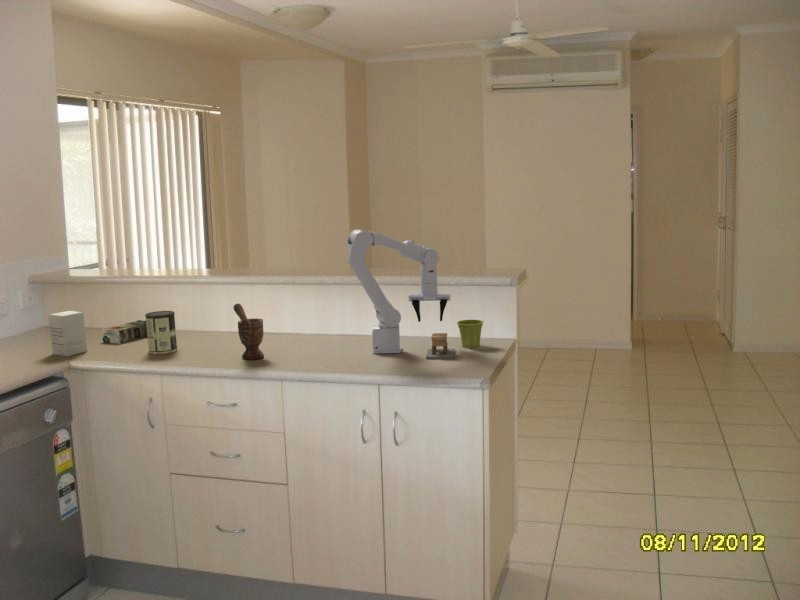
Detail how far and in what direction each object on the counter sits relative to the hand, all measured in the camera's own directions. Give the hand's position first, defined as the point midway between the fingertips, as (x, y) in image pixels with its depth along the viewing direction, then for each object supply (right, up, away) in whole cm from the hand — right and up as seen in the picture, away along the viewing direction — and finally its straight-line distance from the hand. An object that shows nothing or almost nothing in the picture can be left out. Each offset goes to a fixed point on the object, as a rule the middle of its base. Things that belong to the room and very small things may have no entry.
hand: (430, 321), depth 312 cm
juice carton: (-118, -8, +39) cm, 124 cm away
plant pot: (+14, -9, +1) cm, 17 cm away
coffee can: (-97, -11, +12) cm, 98 cm away
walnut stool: (+3, -10, -12) cm, 16 cm away
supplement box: (-132, -12, +14) cm, 133 cm away
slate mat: (+3, -11, -12) cm, 17 cm away
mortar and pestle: (-62, -13, -7) cm, 64 cm away
